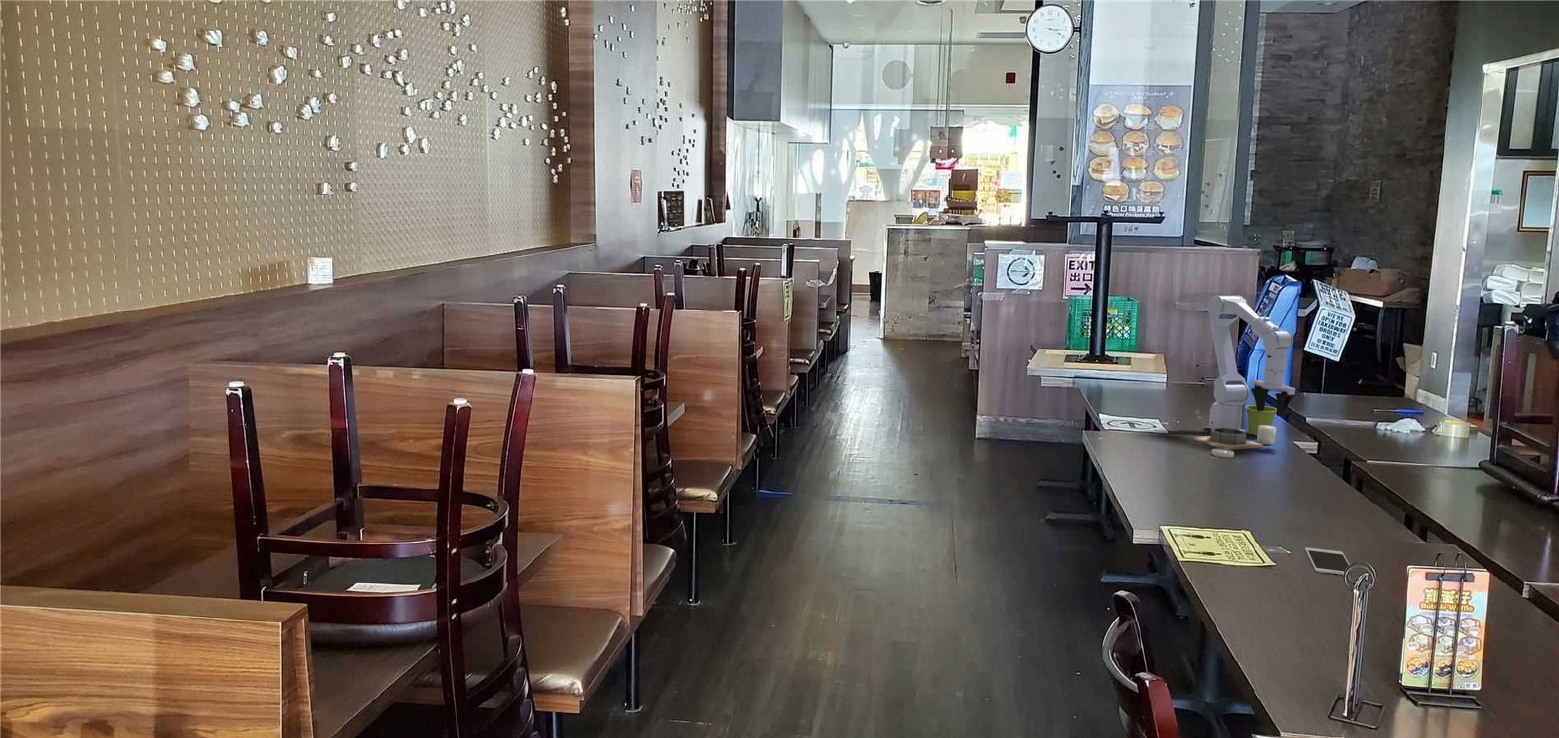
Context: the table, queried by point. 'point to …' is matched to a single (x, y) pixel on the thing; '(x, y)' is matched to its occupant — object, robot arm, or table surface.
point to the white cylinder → (1266, 434)
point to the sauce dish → (1223, 453)
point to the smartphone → (1327, 560)
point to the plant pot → (1259, 418)
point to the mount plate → (1228, 446)
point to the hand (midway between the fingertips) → (1270, 413)
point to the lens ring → (1228, 436)
